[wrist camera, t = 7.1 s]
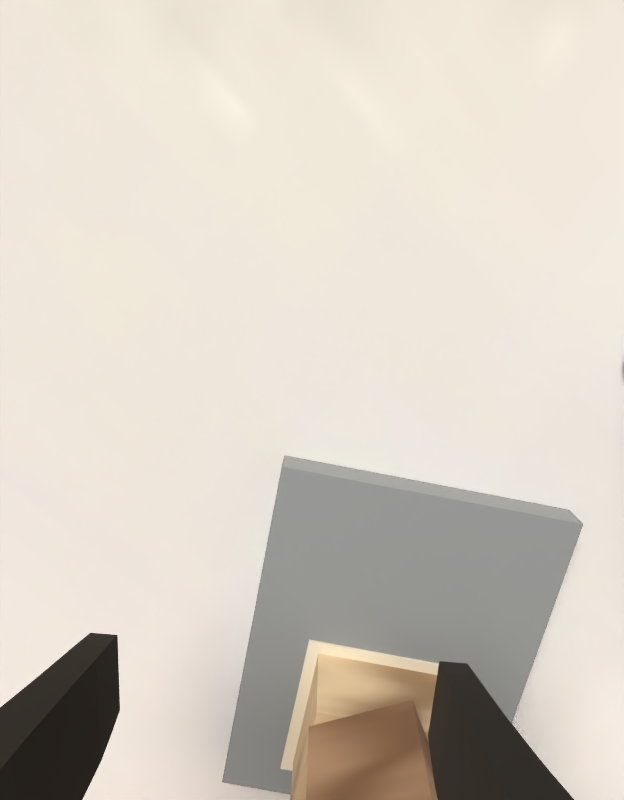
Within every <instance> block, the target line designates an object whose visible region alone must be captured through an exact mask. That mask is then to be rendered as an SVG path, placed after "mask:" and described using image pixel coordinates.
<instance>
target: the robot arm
mask: <svg viewBox="0 0 624 800" xmlns="http://www.w3.org/2000/svg"><path fill="white" fill-rule="evenodd" d="M119 711H120V703H119V673H118V642H117V635H109V634H97V633H90V634H89V635H87V636H86V637H85V638H84V639H83V640H81V641H80V642H79V643H78V644H76V645H75V646H74V647H73V648H72V649H70V650H69V651H68V652H67V653H66V654H65V655H63V656H62V657H61V658H60V659H59V660H57V661H56V662H55V663H54V664H53V665H52V666H50V667H49V668H48V669H47V670H46V671H44V672H43V673H42V674H41V675H40V676H38V677H37V678H36V679H35V680H34V681H32V682H31V683H30V684H29V685H28V686H26V687H25V688H24V689H23V690H21V691H20V692H19V693H18V694H16V695H15V696H14V697H13V698H12V699H10V700H9V701H8V702H7V703H5V704H4V705H3V706H2V707H0V800H82V799H83V797H84V795H85V793H86V791H87V789H88V787H89V785H90V783H91V781H92V779H93V776H94V774H95V772H96V770H97V768H98V766H99V764H100V762H101V760H102V757H103V754H104V752H105V749H106V746H107V744H108V741H109V739H110V736H111V733H112V730H113V727H114V725H115V722H116V719H117V716H118V713H119ZM428 740H429V748H430V756H431V763H432V770H433V777H434V784H435V790H436V794H437V798H438V800H574V799H573V798H572V797H571V796H570V794H569V793H568V792H567V791H566V790H565V789H564V787H563V786H562V785H561V784H560V783H559V782H558V781H557V779H556V778H555V777H554V776H553V775H552V774H551V772H550V771H549V770H548V769H547V768H546V766H545V765H544V764H543V763H542V761H541V760H540V759H539V758H538V757H537V755H536V754H535V753H534V752H533V750H532V749H531V748H530V747H529V745H528V744H527V743H526V741H525V740H524V739H523V738H522V736H521V735H520V734H519V733H518V731H517V730H516V729H515V727H514V726H513V725H512V724H511V722H510V721H509V720H508V718H507V717H506V716H505V714H504V713H503V712H502V710H501V709H500V707H499V706H498V705H497V703H496V702H495V701H494V699H493V698H492V697H491V695H490V694H489V692H488V691H487V690H486V688H485V687H484V686H483V684H482V683H481V681H480V680H479V679H478V677H477V676H476V674H475V673H474V672H473V670H472V669H471V668H470V666H469V665H468V664H467V663H456V662H444V661H439V667H438V673H437V680H436V686H435V693H434V699H433V706H432V712H431V718H430V725H429V731H428Z"/></svg>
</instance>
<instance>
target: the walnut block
mask: <svg viewBox="0 0 624 800" xmlns="http://www.w3.org/2000/svg"><path fill="white" fill-rule="evenodd" d="M306 800H438V798H437V794H436V790H435V784H434V777H433V770H432V763H431V756H430V748H429V743H428V740H427V738H426V735H425V732H424V729H423V727H422V724H421V721H420V719H419V716H418V713H417V710H416V708H415V705H414V702H413V700H409V701H405V702H401V703H397V704H394V705H390V706H386V707H382V708H378V709H374V710H371V711H367V712H363V713H359V714H355V715H351V716H348V717H344V718H340V719H336V720H332V721H328V722H324V723H321V724H317V725H313V726H309V736H308V760H307V783H306Z"/></svg>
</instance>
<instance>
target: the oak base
mask: <svg viewBox="0 0 624 800" xmlns="http://www.w3.org/2000/svg"><path fill="white" fill-rule="evenodd" d="M436 680H437V675H434V674H428V673H423V672H417V671H412V670H407V669H401V668H396V667H390V666H385V665H380V664H374V663H369V662H363V661H358V660H352V659H347V658H342V657H336V656H331V655H325V654H320V653H318V657H317V661H316V666H315V670H314V674H313V678H312V683H311V687H310V691H309V696H308V700H307V704H306V709H305V713H304V717H303V722H302V726H301V730H300V735H299V739H298V743H297V748H296V752H295V756H294V761H293V771H292V785H291V799H290V800H306V783H307V760H308V736H309V726H313V725H317V724H321V723H324V722H328V721H332V720H336V719H340V718H344V717H348V716H351V715H355V714H359V713H363V712H367V711H371V710H374V709H378V708H382V707H386V706H390V705H394V704H397V703H401V702H405V701H409V700H413V702H414V705H415V708H416V710H417V713H418V716H419V719H420V721H421V724H422V727H423V729H424V732H425V735H426V738H427V740H428V731H429V725H430V718H431V712H432V706H433V699H434V693H435V686H436ZM428 743H429V740H428Z"/></svg>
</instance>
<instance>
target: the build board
mask: <svg viewBox="0 0 624 800" xmlns="http://www.w3.org/2000/svg"><path fill="white" fill-rule="evenodd" d="M582 526H583V523H582V522H581V521H580V520H579V519H578V518H577V517H576V516H575V515H574V514H573V513H572V512H571V511H570V510H566V509H561V508H556V507H550V506H545V505H540V504H535V503H530V502H524V501H519V500H514V499H509V498H503V497H498V496H493V495H488V494H483V493H477V492H472V491H467V490H462V489H456V488H451V487H446V486H441V485H436V484H430V483H425V482H420V481H415V480H409V479H404V478H399V477H394V476H389V475H383V474H378V473H373V472H368V471H362V470H357V469H352V468H347V467H341V466H336V465H331V464H326V463H321V462H315V461H310V460H305V459H300V458H294V457H289V456H284V460H283V464H282V469H281V474H280V479H279V485H278V490H277V495H276V501H275V506H274V511H273V516H272V522H271V527H270V532H269V537H268V543H267V548H266V553H265V559H264V564H263V569H262V574H261V580H260V585H259V590H258V596H257V601H256V606H255V611H254V617H253V622H252V627H251V633H250V638H249V643H248V648H247V654H246V659H245V664H244V669H243V675H242V680H241V685H240V691H239V696H238V701H237V706H236V712H235V717H234V722H233V728H232V733H231V738H230V743H229V749H228V754H227V759H226V764H225V770H224V775H223V780H222V782H224V783H230V784H235V785H241V786H247V787H252V788H258V789H263V790H269V791H274V792H280V793H286V794H291V785H292V771H293V761H294V756H295V752H296V748H297V743H298V739H299V735H300V730H301V726H302V722H303V717H304V713H305V709H306V704H307V700H308V696H309V691H310V687H311V683H312V678H313V674H314V670H315V666H316V661H317V657H318V653H320V654H325V655H331V656H336V657H342V658H347V659H352V660H358V661H363V662H369V663H374V664H380V665H385V666H390V667H396V668H401V669H407V670H412V671H417V672H423V673H428V674H434V675H437V673H438V667H439V661H444V662H456V663H467V664H468V665H469V666H470V668H471V669H472V670H473V672H474V673H475V674H476V676H477V677H478V679H479V680H480V681H481V683H482V684H483V686H484V687H485V688H486V690H487V691H488V692H489V694H490V695H491V697H492V698H493V699H494V701H495V702H496V703H497V705H498V706H499V707H500V709H501V710H502V712H503V713H504V714H505V716H506V717H507V718H508V720H509V721H510V722H511V723H512V720H513V718H514V715H515V712H516V709H517V706H518V704H519V701H520V698H521V695H522V693H523V690H524V687H525V684H526V681H527V679H528V676H529V673H530V670H531V668H532V665H533V662H534V659H535V657H536V654H537V651H538V648H539V645H540V643H541V640H542V637H543V634H544V632H545V629H546V626H547V623H548V620H549V618H550V615H551V612H552V609H553V607H554V604H555V601H556V598H557V595H558V593H559V590H560V587H561V584H562V582H563V579H564V576H565V573H566V570H567V568H568V565H569V562H570V559H571V557H572V554H573V551H574V548H575V545H576V543H577V540H578V537H579V534H580V532H581V529H582Z"/></svg>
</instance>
